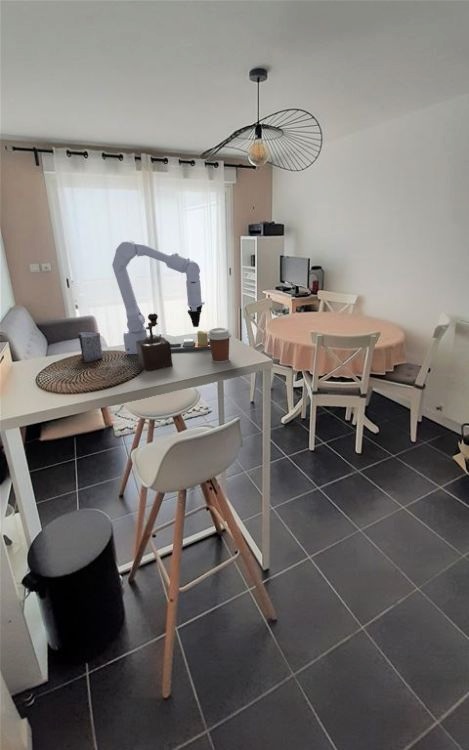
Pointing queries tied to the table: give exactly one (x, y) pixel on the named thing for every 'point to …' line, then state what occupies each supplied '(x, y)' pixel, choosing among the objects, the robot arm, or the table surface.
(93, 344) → the stone
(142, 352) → the manual coffee grinder
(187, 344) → the zinc nut
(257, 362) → the table surface
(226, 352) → the coffee cup
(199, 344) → the yellow block
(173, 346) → the rail
